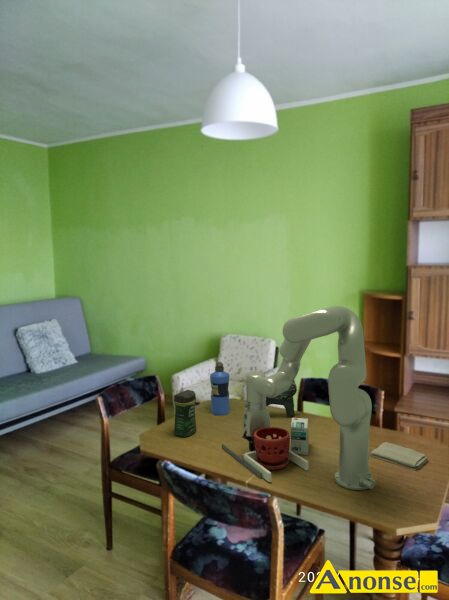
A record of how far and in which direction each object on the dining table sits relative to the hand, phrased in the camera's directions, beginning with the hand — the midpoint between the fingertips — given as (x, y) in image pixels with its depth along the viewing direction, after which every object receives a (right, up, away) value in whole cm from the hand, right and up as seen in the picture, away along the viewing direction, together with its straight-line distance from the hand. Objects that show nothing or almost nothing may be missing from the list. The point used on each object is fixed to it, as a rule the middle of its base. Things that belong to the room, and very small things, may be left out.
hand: (256, 450), depth 170 cm
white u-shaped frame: (+5, -2, -8) cm, 10 cm away
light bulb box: (+17, -1, +4) cm, 18 cm away
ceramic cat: (+12, +2, +38) cm, 40 cm away
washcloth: (+53, -2, -5) cm, 53 cm away
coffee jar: (-29, 0, +20) cm, 36 cm away
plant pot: (+5, -2, -9) cm, 10 cm away
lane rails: (+2, -2, -3) cm, 4 cm away
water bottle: (-14, +3, +45) cm, 48 cm away
